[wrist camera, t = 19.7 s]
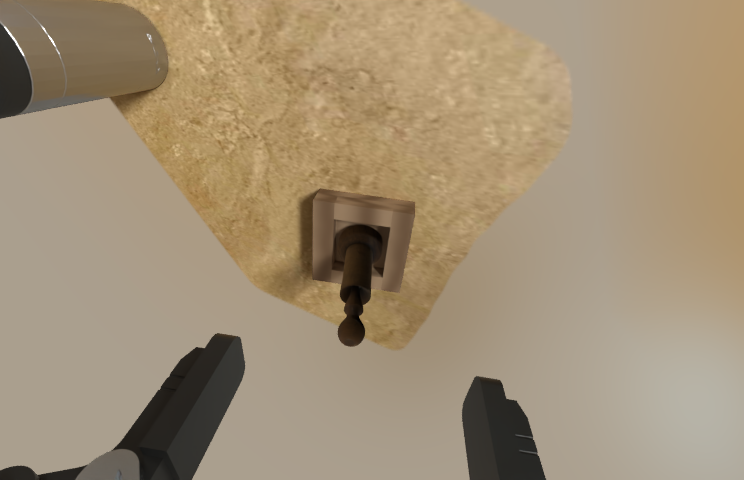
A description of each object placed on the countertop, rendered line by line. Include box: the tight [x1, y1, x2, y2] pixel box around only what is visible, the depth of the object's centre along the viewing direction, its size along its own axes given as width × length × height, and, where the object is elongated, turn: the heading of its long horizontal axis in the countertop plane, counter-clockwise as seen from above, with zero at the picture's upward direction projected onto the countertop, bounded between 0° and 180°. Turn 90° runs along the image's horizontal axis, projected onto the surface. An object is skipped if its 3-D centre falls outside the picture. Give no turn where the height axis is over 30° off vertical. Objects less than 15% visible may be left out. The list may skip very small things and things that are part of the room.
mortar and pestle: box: [338, 225, 383, 347], centre depth 42 cm, size 7×6×18 cm
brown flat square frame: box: [313, 189, 415, 293], centre depth 49 cm, size 14×14×4 cm
